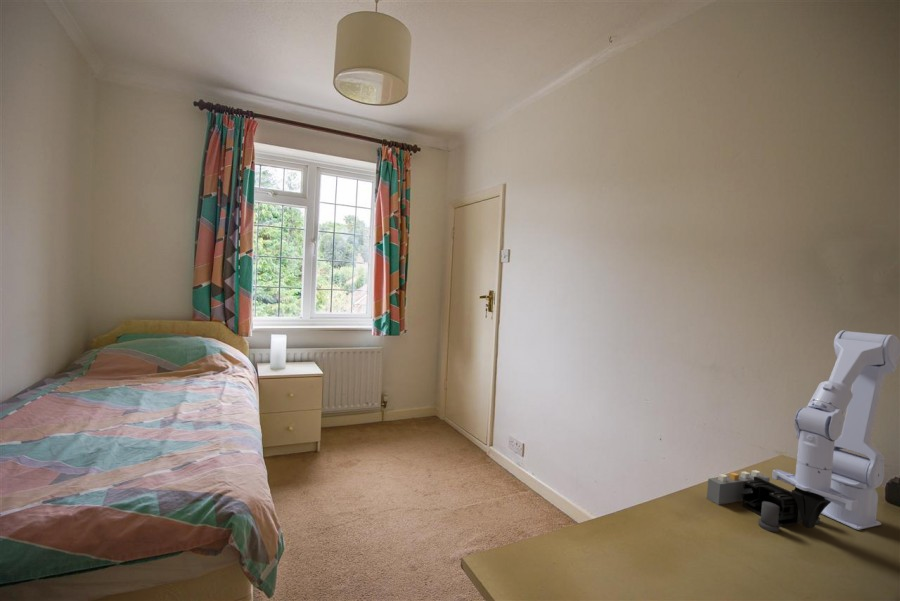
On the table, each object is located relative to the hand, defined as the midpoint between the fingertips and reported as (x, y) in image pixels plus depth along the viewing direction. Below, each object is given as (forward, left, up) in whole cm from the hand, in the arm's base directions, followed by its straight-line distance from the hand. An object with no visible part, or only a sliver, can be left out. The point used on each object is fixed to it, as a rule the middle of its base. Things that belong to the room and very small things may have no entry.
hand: (808, 526), depth 88 cm
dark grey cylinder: (-7, -4, -1) cm, 8 cm away
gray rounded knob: (+7, -4, -1) cm, 8 cm away
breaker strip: (0, -15, -1) cm, 15 cm away
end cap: (0, -7, -2) cm, 7 cm away
